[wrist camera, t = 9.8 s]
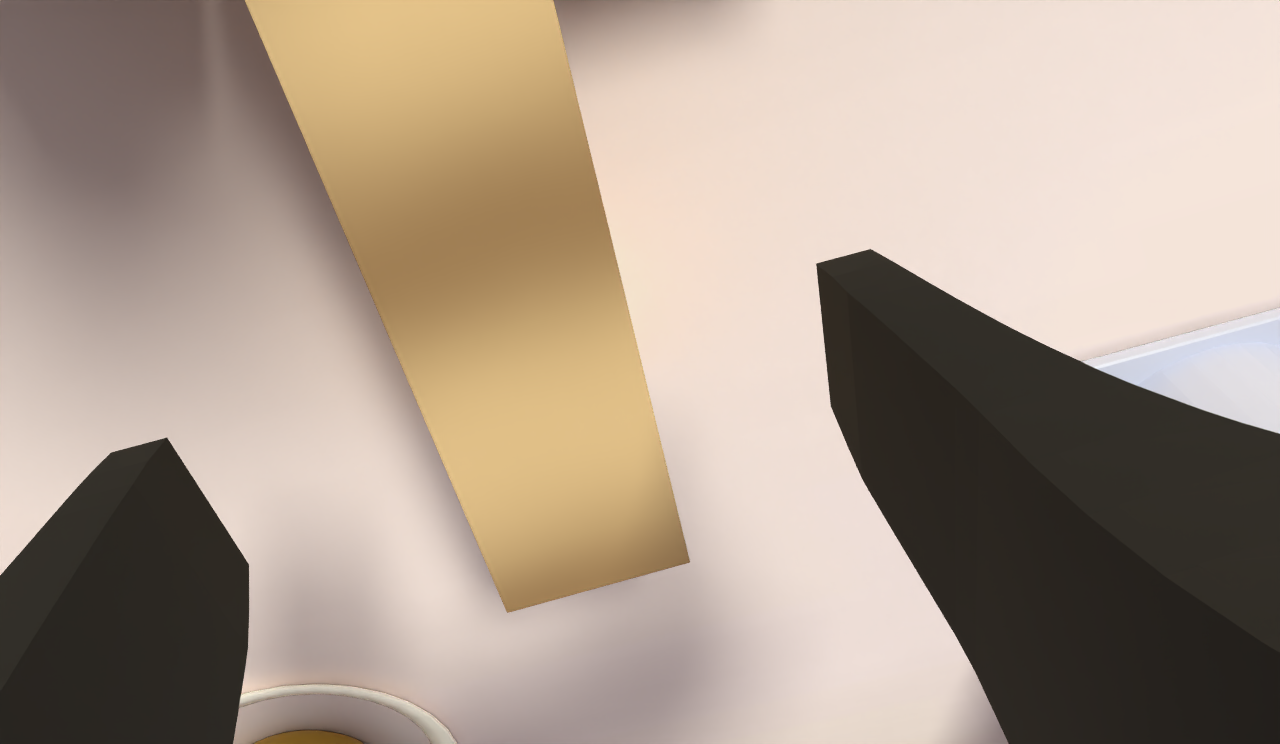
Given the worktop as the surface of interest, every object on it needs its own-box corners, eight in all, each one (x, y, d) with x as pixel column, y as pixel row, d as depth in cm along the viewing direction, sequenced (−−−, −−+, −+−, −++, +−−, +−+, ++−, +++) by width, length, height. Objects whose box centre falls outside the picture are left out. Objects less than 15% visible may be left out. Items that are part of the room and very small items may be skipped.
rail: (633, 374, 24) (693, 574, 19) (486, 413, 24) (508, 625, 19) (430, -435, 15) (440, -466, 10) (190, -376, 14) (75, -377, 9)
